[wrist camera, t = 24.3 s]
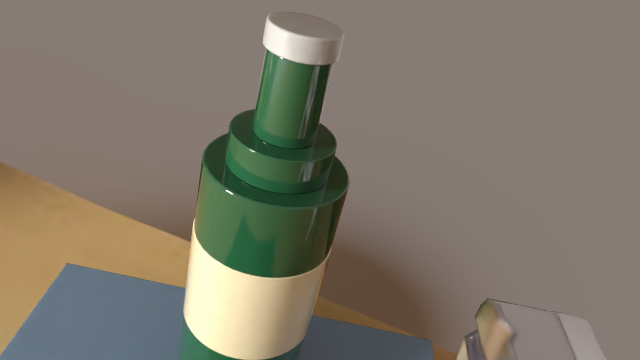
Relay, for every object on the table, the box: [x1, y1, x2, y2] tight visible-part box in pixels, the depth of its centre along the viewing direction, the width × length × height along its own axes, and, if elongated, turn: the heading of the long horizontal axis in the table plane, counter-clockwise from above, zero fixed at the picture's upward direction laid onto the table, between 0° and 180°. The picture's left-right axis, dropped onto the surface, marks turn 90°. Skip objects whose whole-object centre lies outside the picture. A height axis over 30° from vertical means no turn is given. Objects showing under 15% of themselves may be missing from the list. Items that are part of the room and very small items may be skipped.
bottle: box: [178, 12, 349, 360], centre depth 25 cm, size 6×6×19 cm
